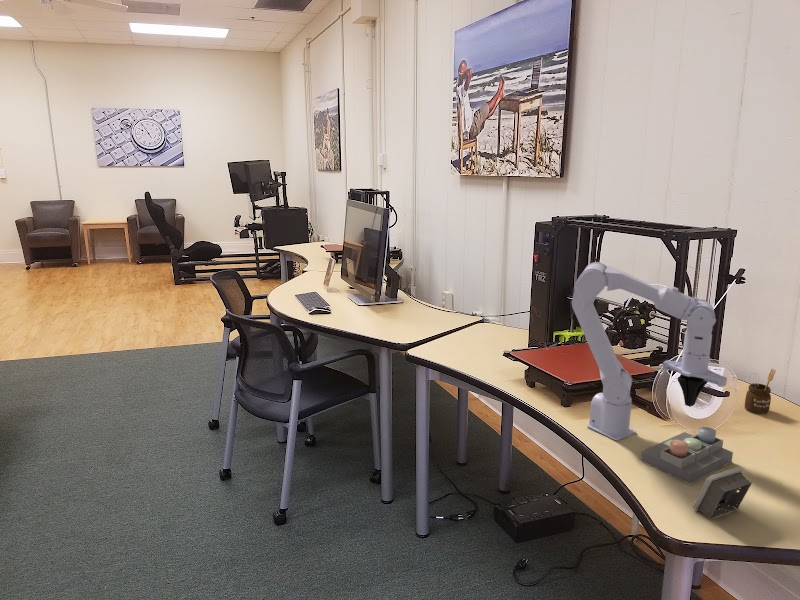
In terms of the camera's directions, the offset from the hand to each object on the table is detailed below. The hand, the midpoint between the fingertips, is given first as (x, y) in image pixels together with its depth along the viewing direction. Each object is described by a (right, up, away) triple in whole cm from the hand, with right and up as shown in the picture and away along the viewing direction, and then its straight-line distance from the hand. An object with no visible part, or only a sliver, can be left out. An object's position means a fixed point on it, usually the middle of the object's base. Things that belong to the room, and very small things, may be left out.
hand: (689, 404), depth 142 cm
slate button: (+2, -7, -4) cm, 9 cm away
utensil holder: (+29, -5, +20) cm, 36 cm away
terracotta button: (-8, -9, -10) cm, 16 cm away
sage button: (-3, -9, -7) cm, 12 cm away
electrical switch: (-6, -17, -24) cm, 30 cm away
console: (-3, -12, -5) cm, 14 cm away
